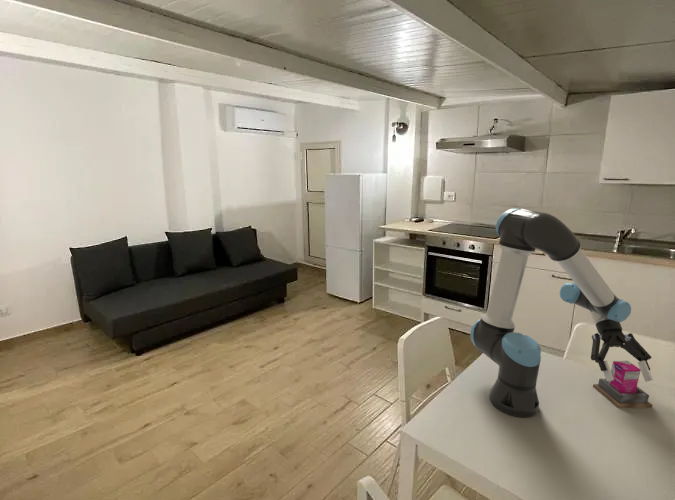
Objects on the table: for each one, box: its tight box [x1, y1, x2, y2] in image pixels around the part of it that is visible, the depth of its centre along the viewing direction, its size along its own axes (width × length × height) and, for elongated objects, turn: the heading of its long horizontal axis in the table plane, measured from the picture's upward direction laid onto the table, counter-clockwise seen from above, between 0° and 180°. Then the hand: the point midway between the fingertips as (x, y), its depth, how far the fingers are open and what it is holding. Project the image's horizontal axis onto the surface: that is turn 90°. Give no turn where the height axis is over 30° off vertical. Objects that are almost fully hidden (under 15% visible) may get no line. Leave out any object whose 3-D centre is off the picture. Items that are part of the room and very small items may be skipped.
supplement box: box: [608, 360, 641, 394], centre depth 131 cm, size 6×6×12 cm
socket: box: [592, 378, 653, 409], centre depth 132 cm, size 12×12×4 cm
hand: (629, 380), depth 129 cm, fingers open, 13 cm apart
